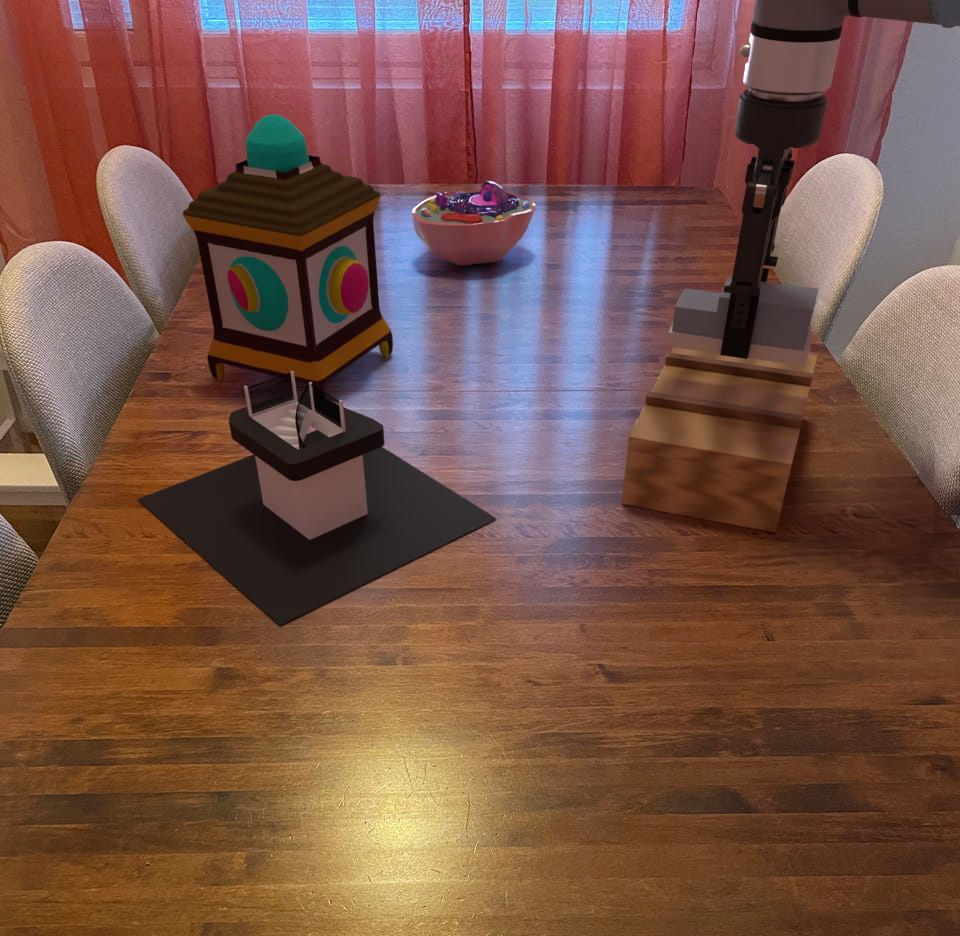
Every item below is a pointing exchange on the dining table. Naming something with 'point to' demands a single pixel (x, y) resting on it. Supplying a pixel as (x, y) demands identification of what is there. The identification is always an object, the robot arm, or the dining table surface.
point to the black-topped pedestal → (310, 504)
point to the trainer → (775, 326)
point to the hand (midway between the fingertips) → (739, 342)
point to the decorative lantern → (289, 262)
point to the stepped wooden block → (718, 438)
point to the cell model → (473, 223)
